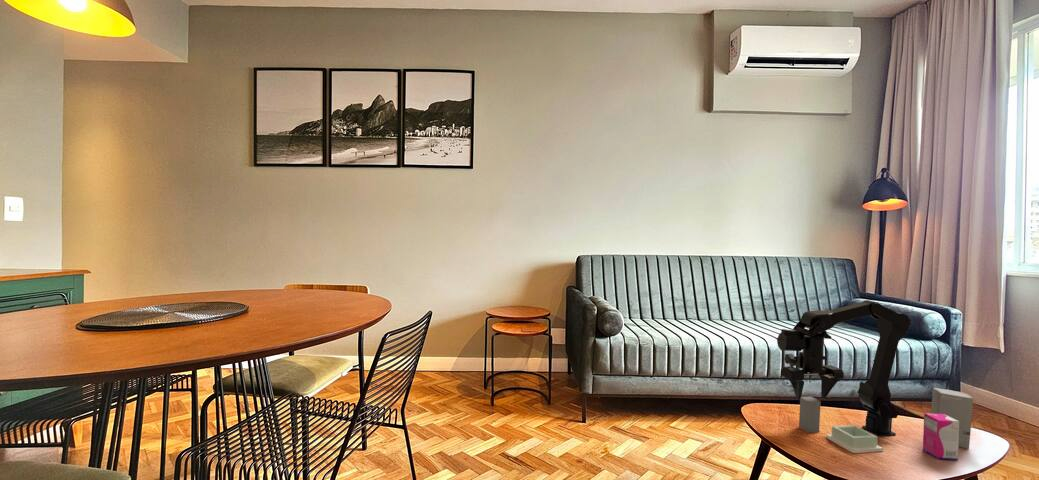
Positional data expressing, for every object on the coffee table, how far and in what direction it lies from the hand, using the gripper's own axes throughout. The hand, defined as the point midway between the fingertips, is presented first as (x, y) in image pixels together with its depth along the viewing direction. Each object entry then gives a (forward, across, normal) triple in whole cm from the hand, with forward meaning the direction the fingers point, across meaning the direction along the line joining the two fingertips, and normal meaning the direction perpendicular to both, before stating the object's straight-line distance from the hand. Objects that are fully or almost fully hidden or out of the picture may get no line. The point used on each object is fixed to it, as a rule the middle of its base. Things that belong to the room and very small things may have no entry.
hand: (810, 398), depth 155 cm
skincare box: (+11, -38, +13) cm, 41 cm away
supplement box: (+11, -26, +20) cm, 34 cm away
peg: (+10, 0, 0) cm, 10 cm away
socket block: (+10, -6, +11) cm, 16 cm away
